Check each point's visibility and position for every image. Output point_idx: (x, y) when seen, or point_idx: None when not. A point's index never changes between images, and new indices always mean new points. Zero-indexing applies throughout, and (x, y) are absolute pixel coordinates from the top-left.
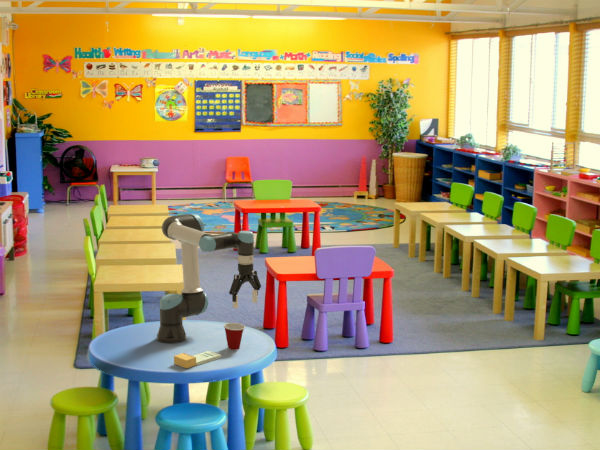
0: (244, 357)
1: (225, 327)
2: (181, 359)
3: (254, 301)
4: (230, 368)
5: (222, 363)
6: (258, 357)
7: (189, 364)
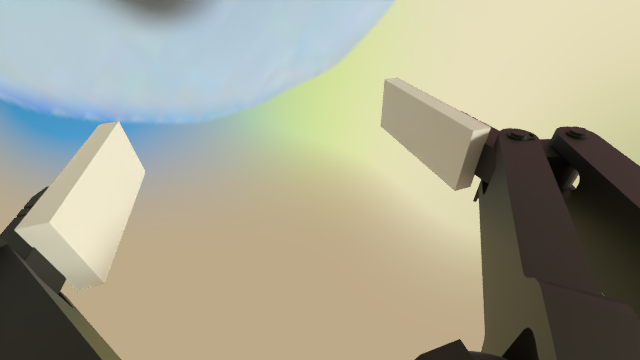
0: (224, 58)
1: None
2: None
3: (388, 111)
4: None
5: (98, 57)
6: (267, 92)
7: None
